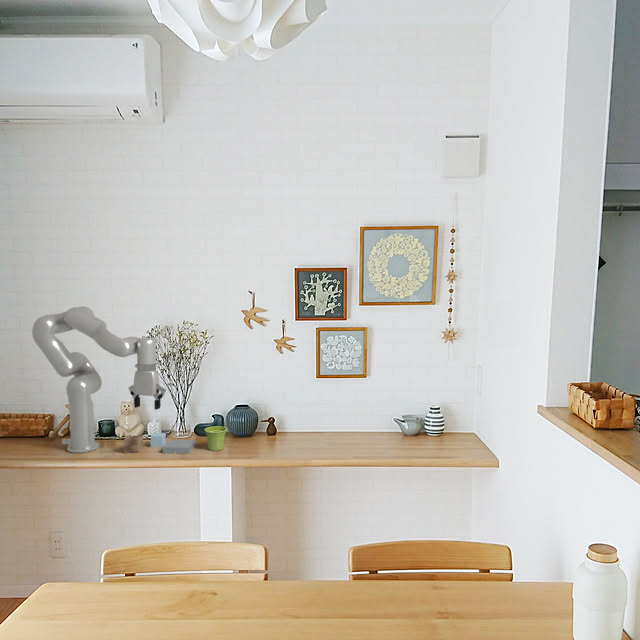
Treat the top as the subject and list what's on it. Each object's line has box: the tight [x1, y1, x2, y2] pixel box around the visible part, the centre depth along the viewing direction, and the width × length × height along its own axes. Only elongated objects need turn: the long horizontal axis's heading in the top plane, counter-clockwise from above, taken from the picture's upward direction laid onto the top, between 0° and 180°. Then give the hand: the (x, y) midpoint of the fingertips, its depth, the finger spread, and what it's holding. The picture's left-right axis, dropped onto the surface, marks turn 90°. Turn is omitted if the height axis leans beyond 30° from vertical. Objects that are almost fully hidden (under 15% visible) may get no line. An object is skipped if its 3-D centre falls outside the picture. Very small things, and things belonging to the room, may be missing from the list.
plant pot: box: [204, 425, 228, 452], centre depth 255 cm, size 9×9×9 cm
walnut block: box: [123, 435, 144, 454], centre depth 252 cm, size 6×6×6 cm
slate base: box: [162, 439, 196, 454], centre depth 254 cm, size 11×11×2 cm
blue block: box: [150, 432, 167, 448], centre depth 260 cm, size 5×5×5 cm
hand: (147, 407), depth 251 cm, fingers open, 9 cm apart
